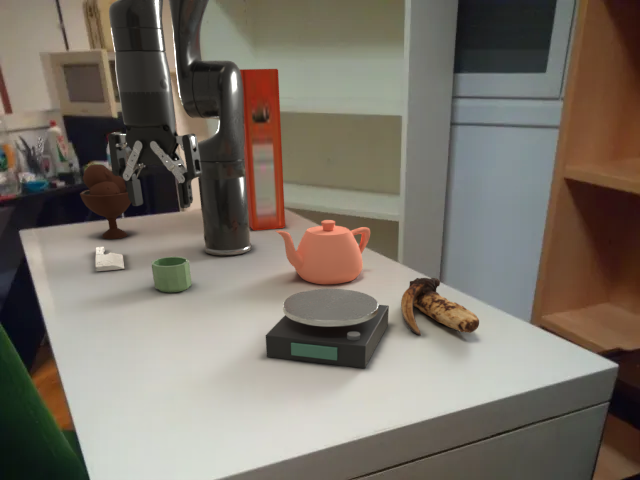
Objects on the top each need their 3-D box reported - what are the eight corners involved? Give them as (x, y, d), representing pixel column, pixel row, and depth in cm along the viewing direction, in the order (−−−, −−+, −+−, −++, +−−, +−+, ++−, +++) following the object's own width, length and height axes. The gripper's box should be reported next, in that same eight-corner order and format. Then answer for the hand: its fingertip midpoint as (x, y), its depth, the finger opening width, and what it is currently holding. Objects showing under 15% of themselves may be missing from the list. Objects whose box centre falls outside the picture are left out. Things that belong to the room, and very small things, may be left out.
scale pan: (300, 290, 85) (300, 285, 85) (386, 298, 82) (386, 292, 82) (269, 321, 75) (269, 315, 75) (366, 331, 72) (366, 325, 72)
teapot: (384, 278, 105) (387, 222, 100) (290, 293, 98) (288, 234, 93) (352, 261, 114) (353, 210, 109) (265, 273, 108) (262, 219, 103)
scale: (302, 316, 89) (301, 293, 87) (387, 325, 85) (389, 301, 84) (265, 357, 76) (264, 331, 74) (364, 369, 73) (365, 342, 71)
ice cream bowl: (126, 242, 128) (113, 167, 120) (79, 240, 130) (63, 166, 122) (148, 231, 137) (137, 160, 129) (104, 229, 139) (90, 160, 131)
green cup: (166, 281, 104) (162, 255, 102) (198, 283, 103) (195, 257, 101) (148, 291, 99) (144, 265, 97) (181, 294, 98) (177, 267, 96)
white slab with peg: (122, 249, 123) (121, 244, 122) (124, 269, 111) (123, 263, 110) (96, 251, 122) (95, 245, 121) (95, 271, 109) (94, 265, 109)
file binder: (251, 230, 137) (241, 68, 120) (237, 215, 151) (226, 69, 134) (285, 228, 139) (279, 68, 122) (268, 213, 153) (261, 69, 137)
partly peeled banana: (375, 308, 93) (431, 348, 78) (375, 278, 91) (433, 314, 76) (428, 298, 95) (492, 336, 81) (429, 269, 93) (496, 303, 78)
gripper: (201, 88, 87) (212, 204, 95) (117, 88, 91) (134, 200, 99) (177, 89, 81) (191, 213, 89) (87, 89, 84) (108, 208, 93)
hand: (161, 206), depth 94 cm, fingers open, 8 cm apart
